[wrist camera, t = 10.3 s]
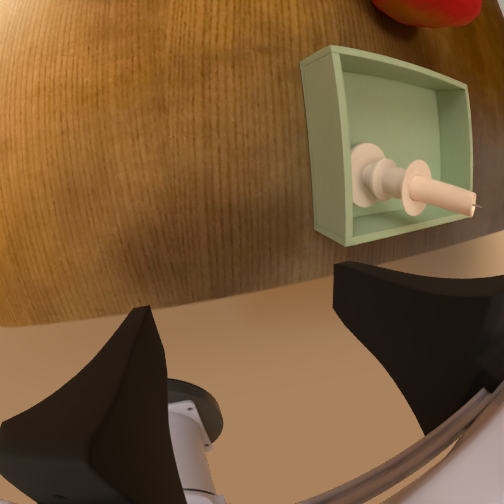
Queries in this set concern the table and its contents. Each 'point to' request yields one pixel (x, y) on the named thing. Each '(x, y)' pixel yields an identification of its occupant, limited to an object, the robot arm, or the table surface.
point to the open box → (381, 137)
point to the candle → (403, 184)
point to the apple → (430, 11)
